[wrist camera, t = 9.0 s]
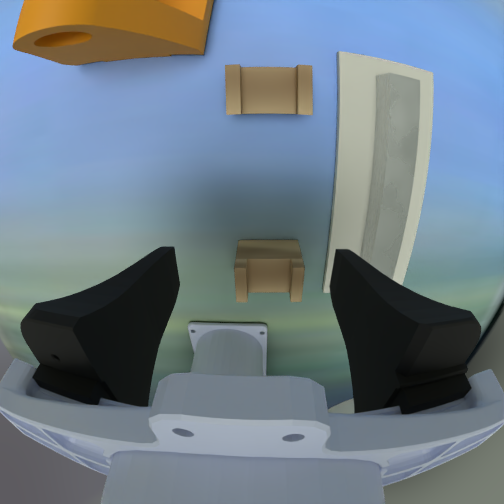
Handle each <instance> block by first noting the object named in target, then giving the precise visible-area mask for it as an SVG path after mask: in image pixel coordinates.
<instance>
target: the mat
mask: <svg viewBox="0 0 504 504" xmlns="http://www.w3.org/2000/svg"><path fill="white" fill-rule="evenodd" d="M386 73H394V74H398V75H402V76H406V77H410V78H414V79H417V80H420V120H419V135H418V147H417V157H416V166H415V174H414V181H413V188H412V194H411V200H410V206H409V211H408V217H407V222H406V226H405V231H404V236H403V240H402V245H401V249H400V253H399V257H398V261H397V265H396V268H395V272H394V276H393V279H392V280H394V281H395V282H397V283H399V284H400V285H402V284H403V280H404V277H405V274H406V270H407V267H408V263H409V260H410V256H411V252H412V248H413V244H414V240H415V236H416V232H417V227H418V223H419V218H420V213H421V208H422V203H423V197H424V192H425V186H426V179H427V172H428V164H429V156H430V147H431V135H432V120H433V73H432V72H429V71H426V70H423V69H419V68H416V67H412V66H409V65H405V64H401V63H397V62H393V61H389V60H385V59H380V58H376V57H371V56H365V55H360V54H354V53H348V52H341V51H339V52H337V81H338V102H337V141H336V162H335V178H334V191H333V203H332V214H331V224H330V233H329V242H328V251H327V259H326V266H325V274H324V281H323V288H322V290H323V293H330V288H329V285H330V280H331V274H332V268H333V263H334V256H335V250H336V249H349V250H351V251H353V252H354V253H356V254H357V255H358V256H360V253H361V247H362V242H363V236H364V229H365V223H366V216H367V209H368V202H369V194H370V185H371V176H372V166H373V154H374V140H375V121H376V75H381V74H386Z"/></svg>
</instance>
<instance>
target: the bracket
mask: <svg viewBox="0 0 504 504" xmlns="http://www.w3.org/2000/svg"><path fill="white" fill-rule="evenodd" d="M213 2H214V0H24V3H23V6H22V9H21V13H20V16H19V20H18V24H17V28H16V32H15V37H14V41H13V48H14V49H15V50H17V51H21V52H25V53H28V54H32V55H35V56H38V57H42V58H45V59H48V60H51V61H54V62H57V63H60V64H64V65H81V64H87V63H92V62H98V61H105V62H108V61H116V60H124V59H134V58H147V57H167V56H171V55H176V54H196V55H204V50H205V44H206V38H207V32H208V27H209V21H210V16H211V11H212V6H213Z"/></svg>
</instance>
